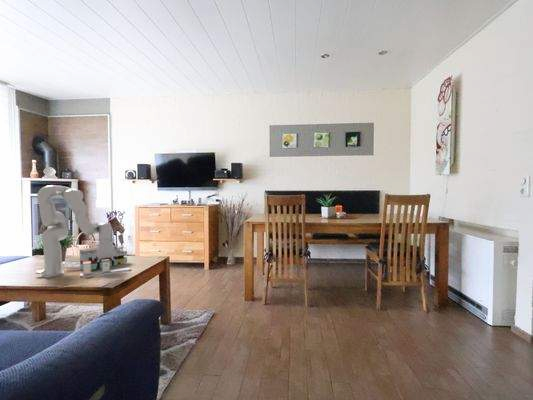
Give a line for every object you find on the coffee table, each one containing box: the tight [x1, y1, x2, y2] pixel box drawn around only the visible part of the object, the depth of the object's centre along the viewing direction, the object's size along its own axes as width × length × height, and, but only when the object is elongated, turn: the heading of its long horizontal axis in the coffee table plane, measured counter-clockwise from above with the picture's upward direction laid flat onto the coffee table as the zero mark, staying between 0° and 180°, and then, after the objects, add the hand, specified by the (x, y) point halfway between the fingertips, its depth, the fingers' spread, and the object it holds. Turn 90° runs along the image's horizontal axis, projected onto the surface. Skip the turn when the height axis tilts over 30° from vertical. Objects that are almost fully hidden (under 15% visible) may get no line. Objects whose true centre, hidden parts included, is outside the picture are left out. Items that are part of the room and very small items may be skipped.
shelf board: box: [79, 267, 132, 278], centre depth 206 cm, size 30×11×2 cm, turn 122°
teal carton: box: [101, 259, 111, 273], centre depth 206 cm, size 4×7×8 cm, turn 32°
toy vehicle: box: [79, 244, 128, 271], centre depth 224 cm, size 8×30×15 cm, turn 143°
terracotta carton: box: [82, 261, 92, 275], centre depth 200 cm, size 4×7×8 cm
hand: (105, 266), depth 206 cm, fingers open, 7 cm apart
